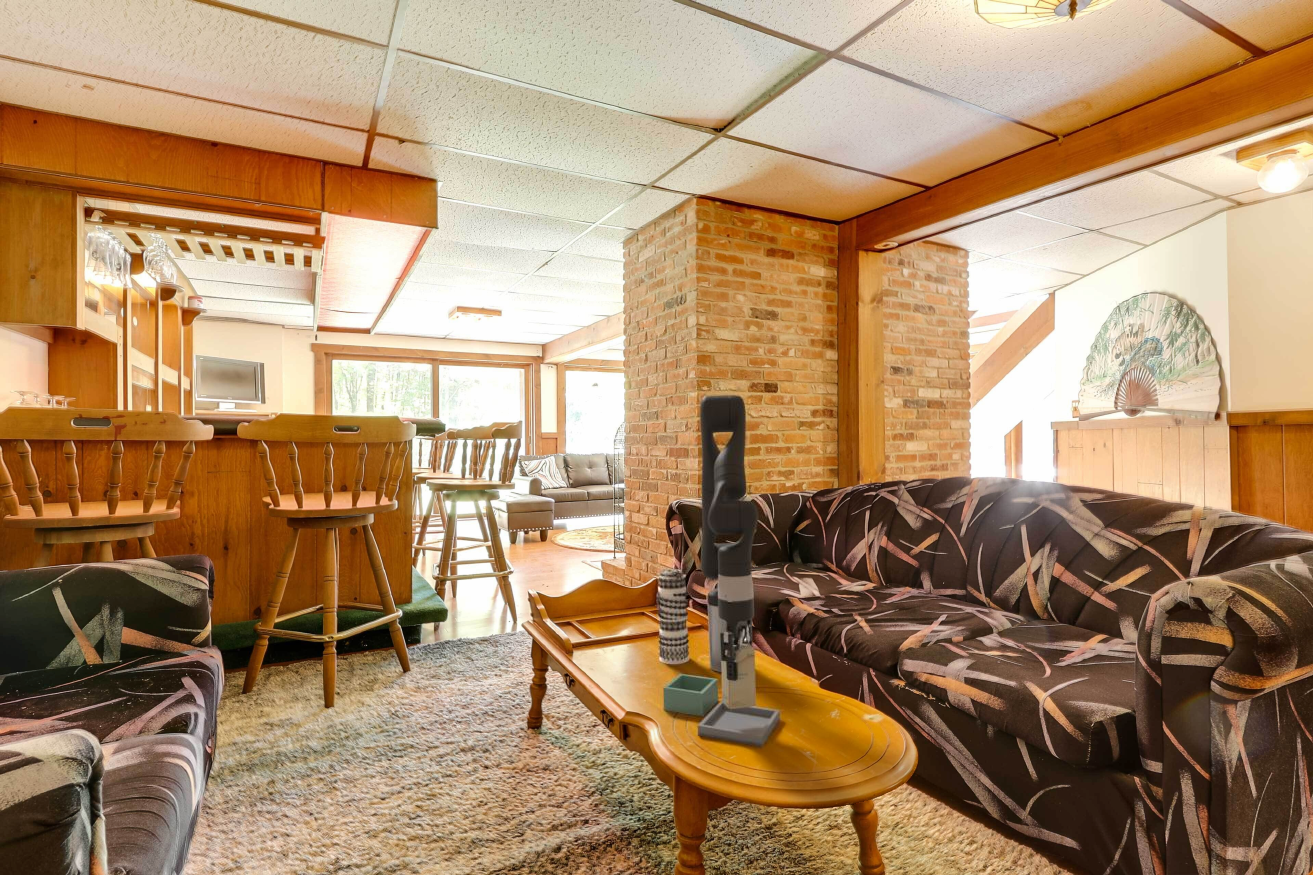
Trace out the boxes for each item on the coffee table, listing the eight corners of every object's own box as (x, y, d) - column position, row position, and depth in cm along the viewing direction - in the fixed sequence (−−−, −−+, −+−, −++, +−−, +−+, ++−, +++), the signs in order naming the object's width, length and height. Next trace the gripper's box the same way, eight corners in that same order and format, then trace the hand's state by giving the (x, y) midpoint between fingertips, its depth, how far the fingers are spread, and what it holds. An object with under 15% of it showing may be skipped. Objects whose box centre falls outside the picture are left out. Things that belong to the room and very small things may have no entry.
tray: (720, 710, 142) (720, 701, 142) (780, 719, 136) (779, 710, 136) (697, 735, 129) (697, 725, 129) (762, 746, 123) (761, 736, 123)
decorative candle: (691, 653, 182) (688, 567, 182) (689, 664, 172) (686, 573, 173) (659, 653, 183) (657, 567, 183) (656, 664, 173) (654, 573, 174)
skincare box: (729, 710, 130) (727, 650, 130) (721, 702, 134) (719, 644, 134) (757, 705, 131) (755, 647, 132) (748, 698, 136) (746, 641, 136)
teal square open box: (680, 694, 151) (680, 673, 151) (718, 700, 147) (717, 678, 147) (663, 709, 143) (663, 687, 143) (703, 716, 139) (702, 693, 139)
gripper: (730, 587, 141) (732, 661, 141) (706, 601, 128) (709, 682, 128) (762, 589, 138) (765, 665, 138) (741, 604, 125) (744, 687, 125)
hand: (738, 673), depth 133 cm, fingers closed on skincare box, 7 cm apart
